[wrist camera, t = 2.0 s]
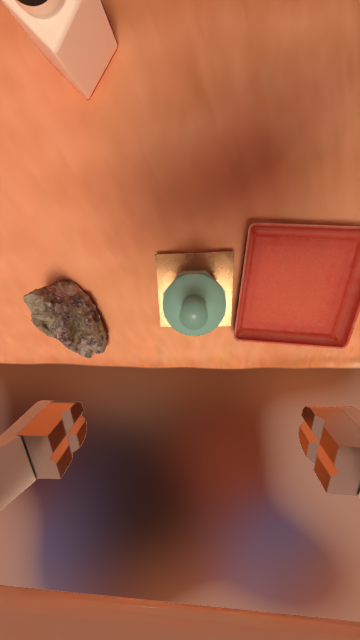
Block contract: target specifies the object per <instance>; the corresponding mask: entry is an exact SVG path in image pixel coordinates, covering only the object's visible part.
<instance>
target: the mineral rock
mask: <svg viewBox="0 0 360 640" xmlns="http://www.w3.org/2000/svg"><path fill="white" fill-rule="evenodd" d="M23 299H24V301H25V303H26V304H27V306H28V308H29V309H30V311H31V317H32V319H31V321H32V322H33V324H34V325H35V326H36V327H37V328H38V329H39V330H40V331H42V332H44V333H45V334H46V335H47V336H50V337H54V338H56V339H58V340H59V341H60V342H62V343H63V344H64V345H65V346H66V347H67V348H68V349H71V350H72V351H74V352H76V353H79V354H80V355H82V356H84V357H86V358H91V357H92V356H93V354H94V353H103V352H104V351H105V349H106V345H107V339H106V336H107V334H106V331H105V329H104V327H103V325H102V322H101V320H100V315H99V314H98V313H97V311H96V306H95V305H94V304H93V303H92V302H91V300H90V297H89V296H88V295H87V294H85V293H84V292H83V291H82V290H81V289H80V288H79V286H78V285H77V284H75V283H73V282H72V281H71V280H60V281H58V282H56V283H54V284H53V285H51V286H49V287H46V286H45V287H43V288H40V289H35V290H34V291H32V292H30V293H29V294H27V295H25V296H24V297H23Z"/></svg>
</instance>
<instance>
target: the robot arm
mask: <svg viewBox="0 0 360 640" xmlns="http://www.w3.org/2000/svg"><path fill="white" fill-rule="evenodd" d="M82 412H83V407H82V403H80V402H72V401H45V400H42V401H39V402H37V403H36V404H35V405H34V406H32V407H31V409H29V410H28V411H27V412H26V413H25V414H24V415H23V416H22V417H21V418H19V419H18V420H17V421H16V422H15V423H14V424H13V425H12V426H11V427H10V428H9V429H8V430H6V431H5V432H4V433H3V434H2V435H0V510H2V509H3V508H4V507H5V506H6V505H7V504H9V503H10V502H11V501H12V500H13V499H14V498H15V497H17V496H18V495H19V494H20V493H21V492H23V491H24V490H25V489H26V488H27V487H29V486H30V485H31V484H32V483H33V482H34V481H36V479H61V478H62V476H63V474H64V473H65V471H66V470H67V468H68V466H69V465H70V463H71V461H72V460H73V457H72V453H73V452H74V451H75V450H77V449H79V448H80V446H81V445H82V443H83V441H84V439H85V435H86V432H87V424H86V420H85V419H84V418H83V417H82V416H81V414H82ZM302 417H303V419H304V420H305V421H304V422H303V423H302V424H301V425H300V427H299V439H300V444H301V447H302V449H303V451H304V453H305V455H306V457H308V458H309V459H310V460H311V461H313V462H314V463H315V466H314V471H315V473H316V475H317V477H318V479H319V480H320V482H321V484H322V486H323V488H324V489H325V491H326V493H331V494H343V495H356V496H358V498H359V499H360V411H359V410H358V409H356V408H354V407H352V406H341V407H340V406H336V407H316V406H312V407H311V406H305V407H304V408H303V410H302ZM0 640H360V622H359V621H349V620H339V619H329V618H319V617H310V616H300V615H290V614H280V613H270V612H259V611H250V610H241V609H231V608H221V607H211V606H202V605H191V604H181V603H172V602H161V601H152V600H143V599H132V598H123V597H113V596H103V595H93V594H82V593H73V592H64V591H63V592H62V591H54V590H43V589H34V588H23V587H14V586H4V585H0Z"/></svg>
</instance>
